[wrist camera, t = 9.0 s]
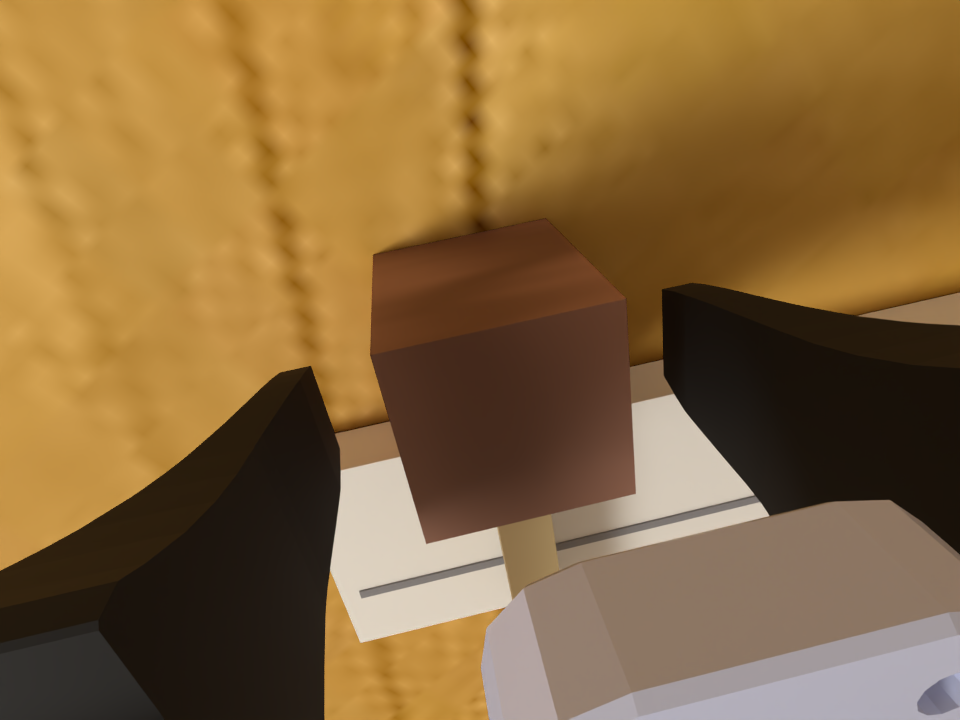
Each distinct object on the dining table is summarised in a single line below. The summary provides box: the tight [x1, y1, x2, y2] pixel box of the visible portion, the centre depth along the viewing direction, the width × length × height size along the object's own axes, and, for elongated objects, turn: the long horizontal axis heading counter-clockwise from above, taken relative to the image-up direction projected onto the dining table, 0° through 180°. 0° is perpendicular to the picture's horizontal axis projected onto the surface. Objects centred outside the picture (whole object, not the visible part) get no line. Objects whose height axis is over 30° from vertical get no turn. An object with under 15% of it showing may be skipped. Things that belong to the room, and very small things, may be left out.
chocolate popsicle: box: [370, 218, 636, 600], centre depth 13 cm, size 4×10×5 cm, turn 9°
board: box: [330, 293, 960, 643], centre depth 16 cm, size 22×6×2 cm, turn 99°
